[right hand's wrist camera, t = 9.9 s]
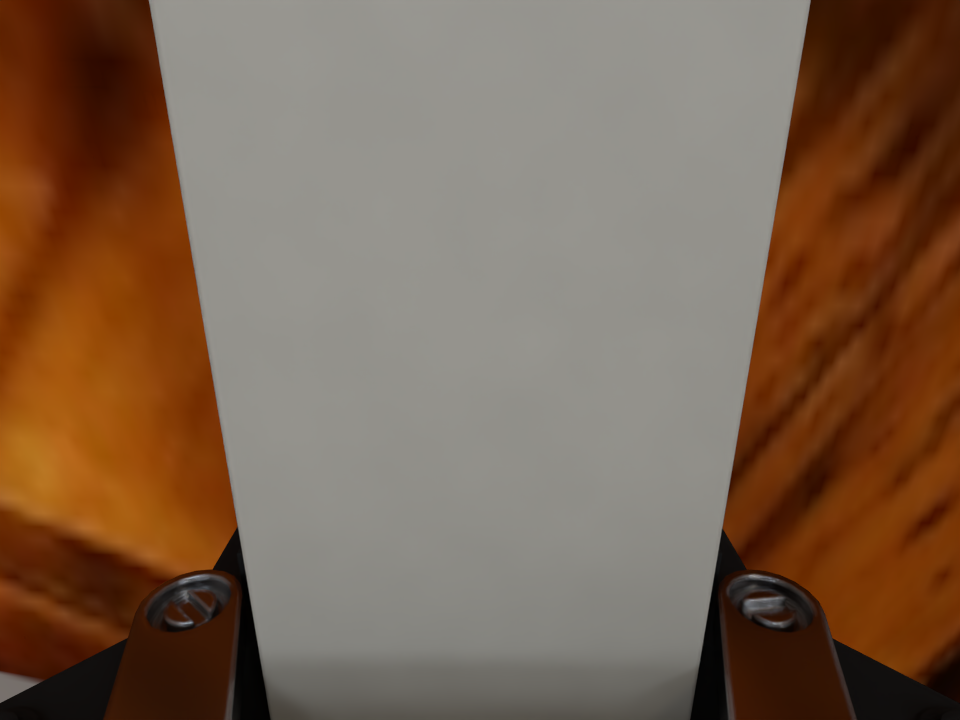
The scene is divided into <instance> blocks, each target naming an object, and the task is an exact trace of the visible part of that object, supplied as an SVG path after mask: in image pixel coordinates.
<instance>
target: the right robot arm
mask: <svg viewBox="0 0 960 720" xmlns="http://www.w3.org/2000/svg"><path fill="white" fill-rule="evenodd" d="M0 720H271V719H270V713H269V708H268V702H267V696H266V690H265V684H264V678H263V672H262V666H261V660H260V654H259V648H258V642H257V636H256V631H255V625H254V619H253V613H252V607H251V601H250V595H249V589H248V583H247V577H246V571H245V565H244V559H243V554H242V548H241V542H240V536H239V530H238V527H237V529H236V530H235V532H234V534H233V536H232V537H231V539H230V541H229V542H228V544H227V546H226V547H225V549H224V551H223V553H222V554H221V556H220V558H219V559H218V561H217V563H216V564H215V566H214V568H213V570H200V571H194V572H190V573H186V574H182V575H179V576H177V577H175V578H173V579H170V580H168V581H166V582H164V583H163V584H161V585H160V586H158V587H157V588H155V589H154V590H152V591H151V592H150V593H149V594H148V595H147V596H146V597H145V598H144V599H143V601H142V602H141V603H140V605H139V607H138V609H137V611H136V613H135V616H134V619H133V623H132V626H131V629H130V633H129V636H128V638H127V639H125V640H123V641H121V642H119V643H117V644H115V645H113V646H111V647H109V648H107V649H105V650H103V651H101V652H99V653H97V654H96V655H94V656H92V657H90V658H88V659H86V660H84V661H82V662H80V663H78V664H76V665H74V666H72V667H70V668H68V669H66V670H64V671H62V672H60V673H58V674H56V675H54V676H52V677H50V678H49V679H47V680H45V681H43V682H41V683H39V684H37V685H35V686H33V687H31V688H29V689H27V690H25V691H23V692H21V693H19V694H17V695H15V696H13V697H11V698H9V699H7V700H5V701H4V702H2V703H0ZM690 720H960V703H958V702H956V701H954V700H952V699H950V698H948V697H946V696H944V695H942V694H940V693H938V692H936V691H934V690H932V689H931V688H929V687H927V686H925V685H923V684H921V683H919V682H917V681H915V680H913V679H911V678H909V677H907V676H905V675H903V674H901V673H899V672H897V671H895V670H893V669H891V668H889V667H887V666H885V665H883V664H881V663H880V662H878V661H876V660H874V659H872V658H870V657H868V656H866V655H864V654H862V653H860V652H858V651H856V650H854V649H852V648H850V647H848V646H846V645H844V644H842V643H840V642H838V641H836V640H834V639H832V636H831V633H830V629H829V626H828V623H827V619H826V616H825V613H824V611H823V609H822V607H821V605H820V603H819V602H818V601H817V599H816V598H815V597H814V596H813V595H812V594H811V593H810V592H809V591H808V590H806V589H805V588H803V587H802V586H800V585H799V584H797V583H796V582H794V581H792V580H790V579H787V578H785V577H783V576H781V575H778V574H774V573H770V572H766V571H760V570H747V569H746V568H745V566H744V564H743V563H742V561H741V559H740V557H739V556H738V554H737V552H736V551H735V549H734V547H733V546H732V544H731V542H730V540H729V539H728V537H727V535H726V534H725V532H724V530H723V529H722V532H721V538H720V544H719V550H718V556H717V562H716V568H715V574H714V580H713V586H712V592H711V598H710V604H709V610H708V616H707V622H706V628H705V634H704V640H703V646H702V652H701V657H700V663H699V669H698V675H697V681H696V687H695V693H694V699H693V705H692V711H691V717H690Z"/></svg>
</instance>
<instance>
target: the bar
mask: <svg viewBox="0 0 960 720" xmlns="http://www.w3.org/2000/svg"><path fill="white" fill-rule="evenodd" d="M810 1H811V0H149V3H150V9H151V15H152V21H153V27H154V32H155V38H156V44H157V50H158V56H159V62H160V68H161V74H162V80H163V86H164V92H165V98H166V104H167V109H168V115H169V121H170V127H171V133H172V139H173V145H174V151H175V157H176V163H177V169H178V175H179V181H180V186H181V192H182V198H183V204H184V210H185V216H186V222H187V228H188V234H189V240H190V246H191V252H192V258H193V263H194V269H195V275H196V281H197V287H198V293H199V299H200V305H201V311H202V317H203V323H204V329H205V334H206V340H207V346H208V352H209V358H210V364H211V370H212V376H213V382H214V388H215V394H216V400H217V406H218V411H219V417H220V423H221V429H222V435H223V441H224V447H225V453H226V459H227V465H228V471H229V477H230V483H231V488H232V494H233V500H234V506H235V512H236V518H237V524H238V530H239V536H240V542H241V548H242V554H243V559H244V565H245V571H246V577H247V583H248V589H249V595H250V601H251V607H252V613H253V619H254V625H255V631H256V636H257V642H258V648H259V654H260V660H261V666H262V672H263V678H264V684H265V690H266V696H267V702H268V708H269V713H270V719H271V720H690V717H691V711H692V705H693V699H694V693H695V687H696V681H697V675H698V669H699V663H700V657H701V652H702V646H703V640H704V634H705V628H706V622H707V616H708V610H709V604H710V598H711V592H712V586H713V580H714V574H715V568H716V562H717V556H718V550H719V544H720V538H721V532H722V526H723V520H724V514H725V508H726V502H727V496H728V490H729V484H730V478H731V472H732V466H733V460H734V454H735V448H736V443H737V437H738V431H739V425H740V419H741V413H742V407H743V401H744V395H745V389H746V383H747V377H748V371H749V365H750V359H751V353H752V347H753V341H754V335H755V329H756V323H757V317H758V311H759V305H760V299H761V293H762V287H763V281H764V275H765V269H766V263H767V257H768V251H769V245H770V239H771V234H772V228H773V222H774V216H775V210H776V204H777V198H778V192H779V186H780V180H781V174H782V168H783V162H784V156H785V150H786V144H787V138H788V132H789V126H790V120H791V114H792V108H793V102H794V96H795V90H796V84H797V78H798V72H799V66H800V60H801V54H802V48H803V42H804V36H805V30H806V25H807V19H808V13H809V7H810Z"/></svg>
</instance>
